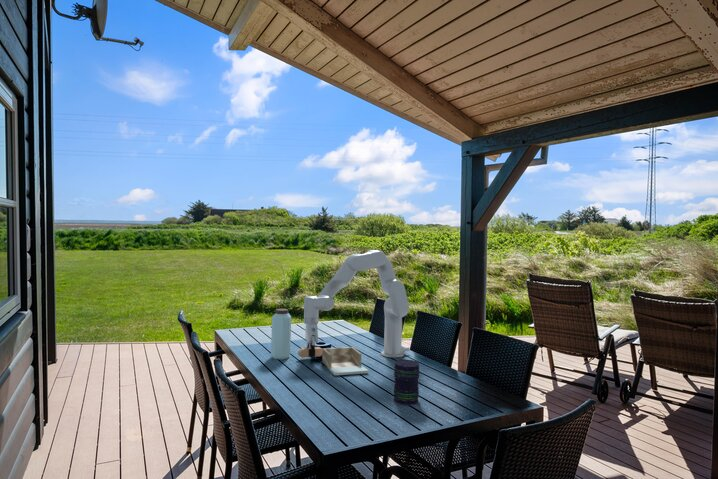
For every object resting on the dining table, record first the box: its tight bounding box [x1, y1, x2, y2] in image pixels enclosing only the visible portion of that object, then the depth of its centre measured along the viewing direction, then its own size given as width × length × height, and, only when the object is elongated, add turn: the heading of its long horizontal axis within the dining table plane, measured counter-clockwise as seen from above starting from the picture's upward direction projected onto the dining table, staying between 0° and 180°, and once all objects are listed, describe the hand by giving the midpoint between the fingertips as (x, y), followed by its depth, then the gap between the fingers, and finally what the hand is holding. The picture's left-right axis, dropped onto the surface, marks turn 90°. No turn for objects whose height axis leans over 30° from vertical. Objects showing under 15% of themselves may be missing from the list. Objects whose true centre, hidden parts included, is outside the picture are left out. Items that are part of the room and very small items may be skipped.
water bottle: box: [270, 308, 292, 360], centre depth 234 cm, size 10×10×25 cm
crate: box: [321, 346, 362, 371], centre depth 223 cm, size 16×14×7 cm
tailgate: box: [329, 365, 369, 376], centre depth 211 cm, size 16×1×9 cm
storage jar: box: [393, 355, 420, 406], centre depth 176 cm, size 10×10×18 cm
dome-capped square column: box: [297, 346, 324, 359], centre depth 232 cm, size 13×4×4 cm, turn 108°
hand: (310, 355), depth 232 cm, fingers closed on dome-capped square column, 4 cm apart
